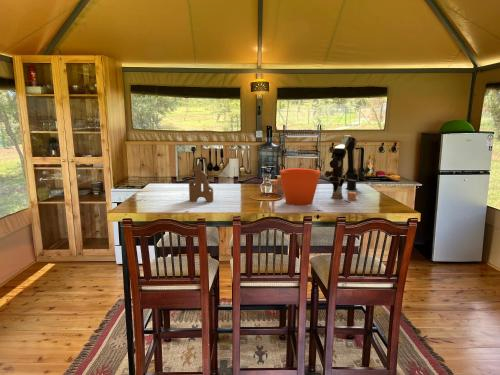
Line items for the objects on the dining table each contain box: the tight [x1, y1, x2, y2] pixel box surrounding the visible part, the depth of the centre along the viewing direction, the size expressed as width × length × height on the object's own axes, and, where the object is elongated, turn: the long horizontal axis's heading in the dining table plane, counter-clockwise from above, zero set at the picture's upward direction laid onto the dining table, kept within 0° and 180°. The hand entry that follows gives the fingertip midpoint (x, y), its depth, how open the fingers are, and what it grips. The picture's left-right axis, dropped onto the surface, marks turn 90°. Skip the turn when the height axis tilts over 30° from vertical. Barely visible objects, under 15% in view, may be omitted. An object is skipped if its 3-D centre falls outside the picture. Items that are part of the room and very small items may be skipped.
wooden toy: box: [188, 161, 214, 203], centre depth 219 cm, size 15×7×25 cm, turn 88°
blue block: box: [332, 185, 343, 194], centre depth 231 cm, size 4×4×4 cm
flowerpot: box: [279, 167, 322, 207], centre depth 216 cm, size 25×25×20 cm
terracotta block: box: [347, 191, 357, 201], centre depth 227 cm, size 4×4×4 cm
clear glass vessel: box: [269, 175, 284, 195], centre depth 246 cm, size 21×6×12 cm, turn 90°
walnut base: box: [330, 193, 344, 200], centre depth 231 cm, size 6×6×3 cm
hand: (337, 190), depth 231 cm, fingers open, 9 cm apart
